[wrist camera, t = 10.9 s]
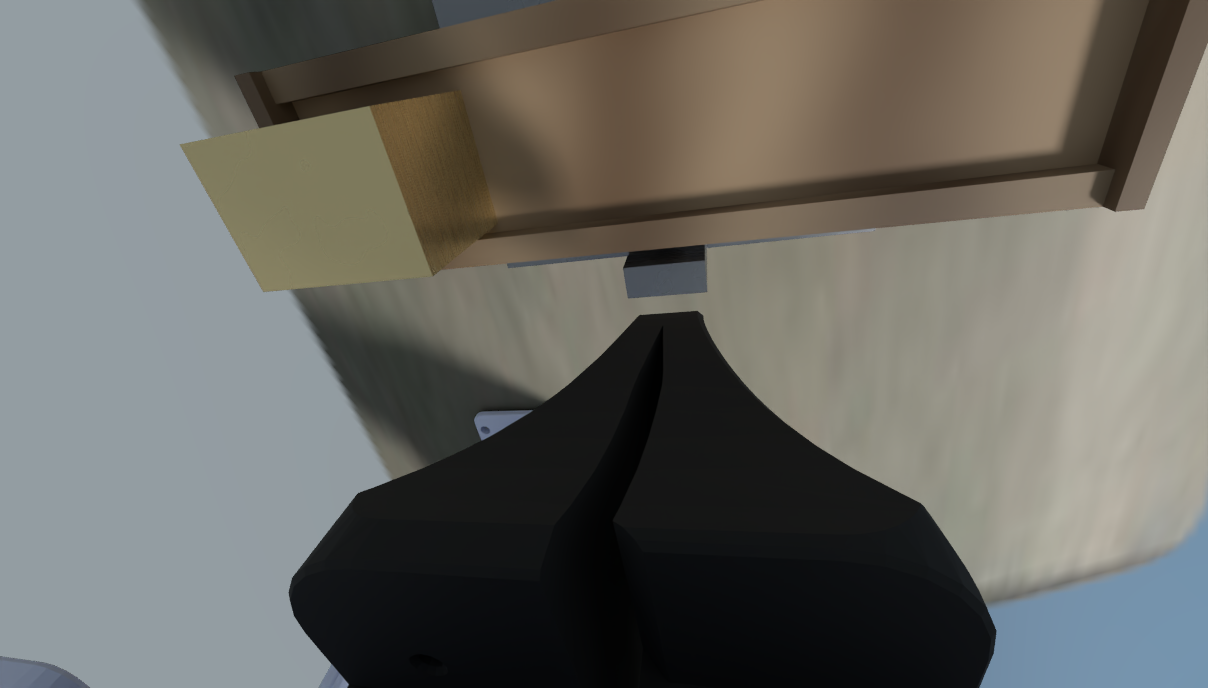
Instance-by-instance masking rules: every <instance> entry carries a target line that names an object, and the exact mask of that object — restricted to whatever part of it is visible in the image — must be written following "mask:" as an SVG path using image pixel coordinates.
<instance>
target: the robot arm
mask: <svg viewBox="0 0 1208 688" xmlns="http://www.w3.org/2000/svg"><path fill="white" fill-rule="evenodd" d="M474 422H475V425H476V428H477V430H478V433H479V435H480V438H481V441H480V442H478V443H476V444H474V445H472V446H470V447H468V448H466V449H464V450H462V451H460V452H458V453H456V454H454V455H452V456H449V457H447V458H445V459H443V460H441V461H439V462H436V463H434V464H432V465H430V466H427V467H425V468H423V469H420V470H417V471H415V472H412V473H410V474H407V475H405V476H402V477H399V478H397V479H394V480H392V481H389V482H387V483H384V484H382V485H379V486H377V487H374V488H371V489H368V490H366V491H363V492H360V493H358V494H357V495H356V496H355V498H354V499H353V500H352V501H351V503H350V504H349V506H348V507H347V508H346V509H345V511H344V512H343V513H342V514H341V516H340V517H339V518H338V520H337V521H336V522H335V523H334V525H333V526H332V527H331V529H330V530H329V531H328V533H327V534H326V535H325V536H324V538H323V539H322V540H321V541H320V543H319V544H318V545H317V547H316V548H315V549H314V550H313V552H312V553H311V554H310V556H309V557H308V558H307V560H306V561H305V562H304V563H303V565H302V566H301V567H300V569H299V570H298V571H297V573H296V574H295V575H294V576H293V578H292V581H291V585H290V589H289V597H290V602H291V606H292V610H293V613H294V616H295V618H296V619H297V621H298V623H299V624H300V626H301V627H302V629H303V630H304V632H305V633H306V634H307V635H308V637H310V639H311V640H312V641H313V642H314V644H315V645H316V646H317V647H318V648H319V650H320V651H321V652H322V653H323V654H324V656H326V658H327V659H328V660H329V661H330V663H331V666H330V668H329V670H328V672H327V673H326V675H325V677H324V679H323V680H322V682H321V684H320V686H319V688H979V687H980V685H981V682H982V680H983V677H984V675H985V673H986V670H987V668H988V666H989V663H990V661H991V658H992V656H993V654H994V646H995V639H996V629H995V626H994V624H993V621H992V619H991V617H990V614H989V612H988V610H987V607H986V605H985V603H984V601H983V598H982V596H981V594H980V592H979V590H978V588H977V586H976V584H975V583H974V581H973V579H972V577H971V575H970V574H969V572H968V570H967V569H966V567H965V565H964V564H963V562H962V561H961V559H960V558H959V556H958V555H957V553H956V552H955V550H954V549H953V547H952V546H951V544H950V543H949V541H948V540H947V539H946V537H945V536H944V534H943V533H942V531H941V530H940V528H939V527H938V526H937V524H936V523H935V521H934V520H933V518H932V517H931V516H930V514H929V513H928V511H927V510H926V509H925V507H924V506H923V505H922V504H921V503H919V502H917V501H915V500H913V499H911V498H909V497H907V496H905V495H903V494H901V493H899V492H898V491H896V490H894V489H892V488H890V487H888V486H886V485H884V484H882V483H880V482H878V481H876V480H874V479H872V478H870V477H868V476H866V475H864V474H863V473H861V472H859V471H857V470H855V469H853V468H851V467H850V466H848V465H846V464H845V463H843V462H841V461H840V460H838V459H837V458H835V457H833V456H832V455H830V454H829V453H827V452H825V451H824V450H822V449H820V448H819V447H817V446H816V445H814V444H813V443H812V442H810V441H809V440H807V439H806V438H805V437H803V436H802V435H801V434H799V433H798V432H797V431H795V430H794V429H793V428H791V427H790V426H789V425H787V424H786V423H785V422H783V421H782V420H781V419H780V418H779V417H778V416H777V415H775V414H774V413H773V412H772V411H771V410H770V409H769V408H767V407H766V406H765V405H764V404H763V403H762V402H761V401H760V400H759V399H758V398H757V397H756V396H755V395H754V394H753V393H752V392H751V391H750V390H749V388H748V387H747V386H746V385H745V384H744V383H743V382H742V381H741V379H740V378H739V377H738V376H737V374H736V373H735V372H734V371H733V370H732V368H731V367H730V366H729V364H728V363H727V362H726V360H725V359H724V357H723V356H722V354H721V353H720V351H719V350H718V348H717V347H716V345H715V344H714V342H713V340H712V338H711V336H710V334H709V333H708V331H707V328H706V326H705V323H704V320H703V315H702V314H700V313H699V312H698V311H691V312H677V313H663V314H649V315H639V316H638V317H637V318H636V319H635V320H634V321H633V322H632V324H631V325H630V326H629V327H628V328H627V329H626V330H625V331H624V332H623V333H622V334H621V335H620V336H619V337H618V339H617V340H616V341H615V342H614V343H613V344H612V345H611V346H610V347H609V348H608V349H607V350H606V351H605V352H604V353H603V354H602V355H601V356H600V357H599V358H598V359H597V360H596V361H594V362H593V363H592V364H591V365H590V366H589V367H588V368H587V369H586V370H584V371H583V372H582V373H581V374H580V375H579V376H578V377H577V378H576V379H574V380H573V381H572V382H571V383H570V384H569V385H567V386H566V387H565V388H564V389H562V390H561V391H560V392H558V393H557V394H556V395H554V396H553V397H552V398H550V399H549V400H547V401H546V402H545V403H543V404H542V405H540V406H539V407H538V408H536V409H535V410H520V411H482V412H479V413H478V414H477V415H476V417H475V419H474ZM485 427H487V428H489V429H487V428H485ZM0 688H90V687H89V686H87V685H86V684H85V683H84V682H82V681H81V680H80V679H78V678H77V677H75V676H74V675H72V674H71V673H69V672H67V671H66V670H64V669H61V668H59V667H57V666H55V665H51V664H48V663H44V662H37V661H30V660H23V659H16V658H9V657H2V656H0Z"/></svg>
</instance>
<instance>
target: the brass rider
mask: <svg viewBox="0 0 1208 688" xmlns="http://www.w3.org/2000/svg"><path fill="white" fill-rule="evenodd" d="M180 146H181V147H182V150H183V151H184V153H185V155H186V157H187V158H188V160H189V162H190V163H191V165H192V167H193V169H194V171H195V172H196V174H197V176H198V177H199V179H200V181H201V183H202V185H203V187H204V188H205V190H206V192H207V194H208V195H209V197H210V199H211V201H212V202H213V204H214V206H215V208H216V209H217V211H218V213H219V215H220V216H221V218H222V220H223V222H224V223H225V225H226V227H227V229H228V230H229V232H230V234H231V236H232V238H233V239H234V241H235V243H236V245H237V246H238V248H239V250H240V252H241V253H242V255H243V257H244V259H245V260H246V262H247V264H248V266H249V268H250V269H251V271H252V273H253V275H254V276H255V278H256V280H257V282H258V283H259V285H260V287H261V289H262V290H263V292H267V291H278V290H290V289H301V288H312V287H323V286H333V285H344V284H355V283H366V282H377V281H388V280H399V279H410V278H420V277H431V276H434V275H435V274H436V273H437V272H439V271H440V270H441V269H442V268H444V267H445V266H446V265H447V264H448V263H450V262H451V261H452V260H453V259H455V258H456V257H457V256H458V255H460V254H461V253H462V252H463V251H465V250H466V249H467V248H468V247H469V246H471V245H472V244H473V243H474V242H476V241H477V240H478V239H479V238H481V237H482V236H483V235H484V234H486V233H487V232H488V231H489V230H490V229H492V228H493V227H494V226H495V225H497V224H498V221H497V217H496V214H495V210H494V207H493V203H492V200H491V196H490V193H489V189H488V186H487V182H486V179H485V175H484V172H483V168H482V165H481V161H480V157H479V154H478V150H477V147H476V143H475V140H474V136H473V133H472V129H471V126H470V122H469V119H468V115H467V112H466V108H465V104H464V101H463V97H462V94H461V90H458V91H453V92H447V93H441V94H435V95H430V96H424V97H418V98H412V99H407V100H401V101H395V102H390V103H384V104H378V105H372V106H367V107H362V108H357V109H352V110H347V111H342V112H337V113H333V114H328V115H323V116H318V117H313V118H308V119H303V120H298V121H293V122H288V123H283V124H278V125H274V126H269V127H264V128H259V129H254V130H249V131H244V132H239V133H234V134H229V135H224V136H219V137H214V138H210V139H205V140H200V141H195V142H190V143H185V144H180Z"/></svg>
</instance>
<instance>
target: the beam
mask: <svg viewBox="0 0 1208 688" xmlns="http://www.w3.org/2000/svg"><path fill="white" fill-rule="evenodd" d="M1207 43H1208V0H555V1H551V2H547V3H543V4H539V5H535V6H531V7H526V8H522V9H518V10H514V11H510V12H506V13H502V14H497V15H493V16H489V17H485V18H481V19H477V20H473V21H468V22H464V23H460V24H456V25H452V26H448V27H444V28H439V29H435V30H431V31H427V32H423V33H419V34H415V35H410V36H406V37H402V38H398V39H394V40H390V41H386V42H381V43H377V44H373V45H369V46H365V47H361V48H357V49H352V50H348V51H344V52H340V53H336V54H332V55H328V56H323V57H319V58H315V59H311V60H307V61H303V62H299V63H294V64H290V65H286V66H282V67H278V68H274V69H270V70H265V71H261V72H248V73H244V74H240V75H236V76H234V77H235V79H236V81H237V83H238V85H239V87H240V89H241V91H242V93H243V95H244V97H245V99H246V101H247V104H248V106H249V108H250V110H251V112H252V114H253V116H254V118H255V120H256V122H257V124H258V126H259V128H264V127H269V126H274V125H278V124H283V123H288V122H293V121H298V120H303V119H308V118H313V117H318V116H323V115H328V114H333V113H337V112H342V111H347V110H352V109H357V108H362V107H367V106H372V105H378V104H384V103H390V102H395V101H401V100H407V99H412V98H418V97H424V96H430V95H435V94H441V93H447V92H453V91H458V90H461V94H462V97H463V101H464V104H465V108H466V112H467V115H468V119H469V122H470V126H471V129H472V133H473V136H474V140H475V143H476V147H477V150H478V154H479V157H480V161H481V165H482V168H483V172H484V175H485V179H486V182H487V186H488V189H489V193H490V196H491V200H492V203H493V207H494V210H495V214H496V217H497V221H498V224H497V225H495V226H494V227H493V228H492V229H490V230H489V231H488V232H487V233H486V234H484V235H483V236H482V237H481V238H479V239H478V240H477V241H476V242H474V243H473V244H472V245H471V246H469V247H468V248H467V249H466V250H465V251H463V252H462V253H461V254H460V255H458V256H457V257H456V258H455V259H453V260H452V261H451V262H450V263H448V264H447V265H446V266H445V267H444V268H442V269H441V270H443V269H454V268H464V267H474V266H485V265H495V264H506V263H516V262H527V261H537V260H548V259H558V258H569V257H579V256H590V255H600V254H611V253H621V252H632V251H642V250H653V249H663V248H673V247H684V246H694V245H705V244H715V243H726V242H736V241H747V240H757V239H768V238H778V237H789V236H799V235H810V234H820V233H831V232H841V231H852V230H862V229H872V228H883V227H893V226H904V225H914V224H925V223H935V222H946V221H956V220H967V219H977V218H988V217H998V216H1009V215H1019V214H1030V213H1040V212H1051V211H1061V210H1071V209H1082V208H1092V207H1105V208H1108V209H1110V210H1112V211H1115V212H1117V211H1128V210H1139V209H1144V208H1145V205H1146V203H1147V200H1148V198H1149V195H1150V192H1151V190H1152V187H1153V184H1154V182H1155V179H1156V177H1157V174H1158V171H1159V169H1160V166H1161V164H1162V161H1163V158H1164V156H1165V153H1166V150H1167V148H1168V145H1169V143H1170V140H1171V137H1172V135H1173V132H1174V130H1175V127H1176V124H1177V122H1178V119H1179V116H1180V114H1181V111H1182V109H1183V106H1184V103H1185V101H1186V98H1187V96H1188V93H1189V90H1190V88H1191V85H1192V82H1193V80H1194V77H1195V75H1196V72H1197V69H1198V67H1199V64H1200V62H1201V59H1202V56H1203V54H1204V51H1205V48H1206V46H1207Z"/></svg>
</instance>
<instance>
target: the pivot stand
mask: <svg viewBox="0 0 1208 688" xmlns="http://www.w3.org/2000/svg"><path fill="white" fill-rule="evenodd" d="M551 1H555V0H432V3H433V6H434V10H435V13H436V17H437V20H438V24H439V27H440V28H444V27H448V26H452V25H456V24H460V23H464V22H468V21H473V20H477V19H481V18H485V17H489V16H493V15H497V14H502V13H506V12H510V11H514V10H518V9H522V8H526V7H531V6H535V5H539V4H543V3H547V2H551ZM868 231H875V228H872V229H862V230H852V231H841V232H831V233H820V234H810V235H799V236H789V237H778V238H768V239H757V240H747V241H736V242H726V243H715V244H705V245H694V246H684V247H673V248H663V249H653V250H642V251H632V252H621V253H611V254H600V255H590V256H579V257H569V258H558V259H548V260H537V261H527V262H516V263H507V265H508V268H514V267H524V266H533V265H543V264H553V263H563V262H573V261H583V260H592V259H602V258H612V257H622V256H627V259H626V262H625V265H624V267H623V270H624V277H625V283H626V289H627V295H628V298H639V297H651V296H664V295H676V294H689V293H701V292H707V248H711V247H720V246H730V245H740V244H750V243H760V242H770V241H779V240H789V239H799V238H809V237H819V236H829V235H838V234H848V233H858V232H868Z"/></svg>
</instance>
